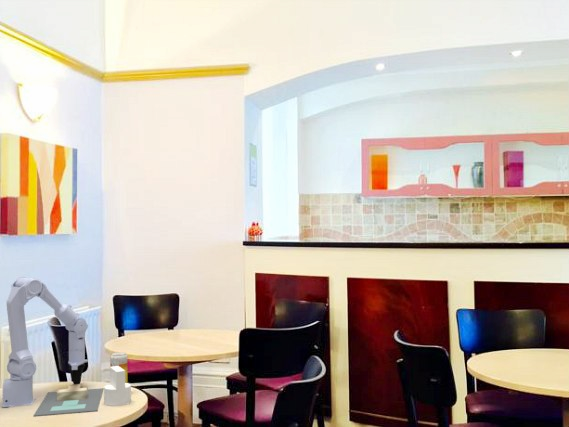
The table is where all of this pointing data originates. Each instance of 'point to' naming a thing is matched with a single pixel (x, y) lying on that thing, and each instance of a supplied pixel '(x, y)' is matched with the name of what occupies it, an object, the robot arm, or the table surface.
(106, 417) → the table surface
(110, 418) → the table surface
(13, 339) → the robot arm
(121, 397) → the cylinder with rectangular tab
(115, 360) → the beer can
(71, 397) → the t block
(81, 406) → the mat
